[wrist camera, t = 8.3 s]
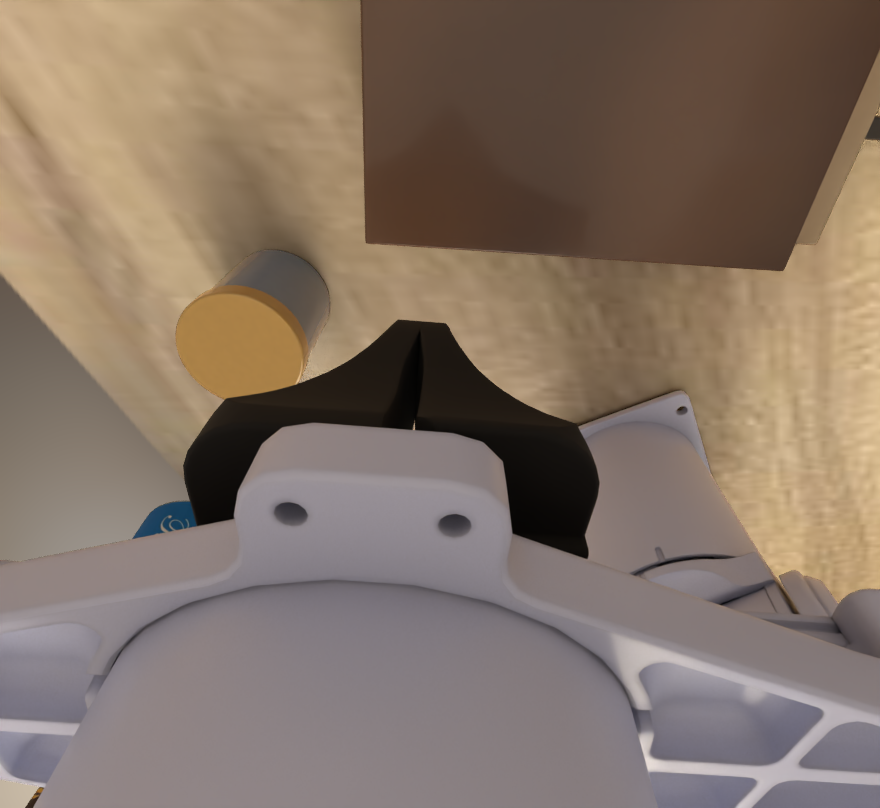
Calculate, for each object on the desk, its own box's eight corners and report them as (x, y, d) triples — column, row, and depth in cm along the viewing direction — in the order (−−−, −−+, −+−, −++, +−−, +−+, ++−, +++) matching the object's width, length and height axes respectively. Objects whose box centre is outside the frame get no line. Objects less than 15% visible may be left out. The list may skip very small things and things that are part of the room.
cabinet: (854, -261, 14) (1106, -467, 8) (699, 218, 21) (784, 272, 15) (390, -296, 14) (348, -528, 8) (389, 197, 20) (365, 244, 15)
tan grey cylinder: (352, 320, 23) (328, 378, 19) (270, 359, 25) (230, 422, 20) (292, 227, 21) (250, 270, 17) (206, 275, 22) (146, 326, 18)
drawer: (1065, -228, 13) (1315, -347, 10) (852, 216, 20) (950, 254, 16) (472, -272, 13) (479, -412, 9) (445, 189, 19) (441, 220, 16)
